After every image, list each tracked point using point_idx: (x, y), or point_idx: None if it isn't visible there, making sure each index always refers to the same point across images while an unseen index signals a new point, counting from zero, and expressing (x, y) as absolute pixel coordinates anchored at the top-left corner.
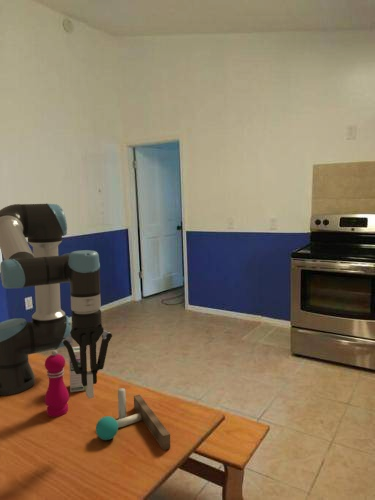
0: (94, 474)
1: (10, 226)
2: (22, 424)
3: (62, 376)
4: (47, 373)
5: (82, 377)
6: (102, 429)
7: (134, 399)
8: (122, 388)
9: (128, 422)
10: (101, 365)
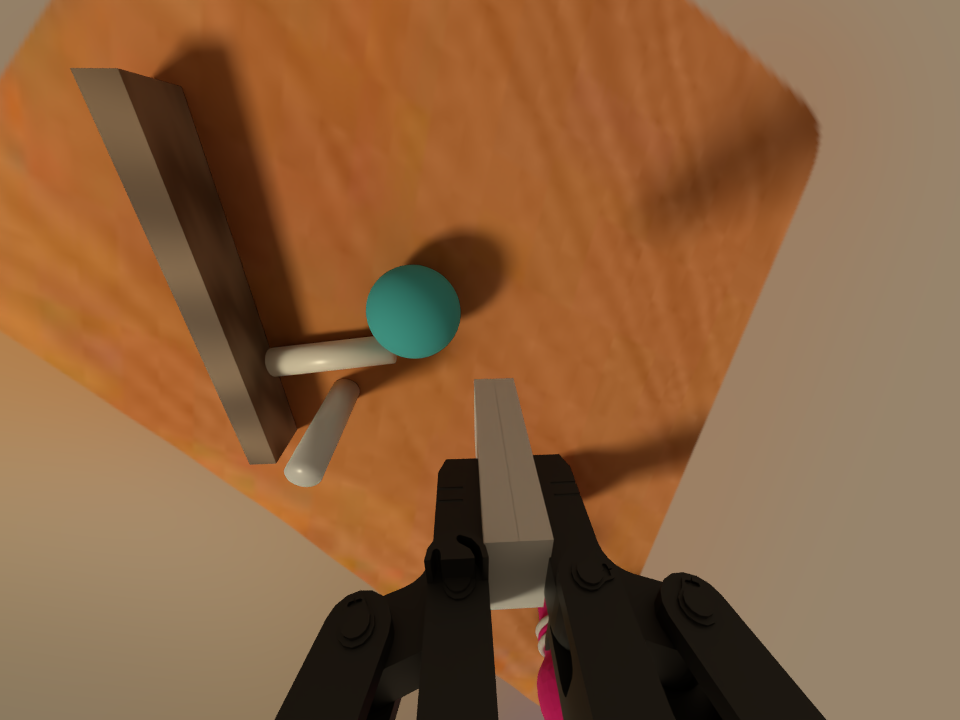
0: (516, 71)
1: None
2: (640, 466)
3: (543, 609)
4: None
5: (590, 528)
6: (438, 285)
7: (278, 449)
8: (298, 482)
9: (324, 343)
10: (344, 660)
